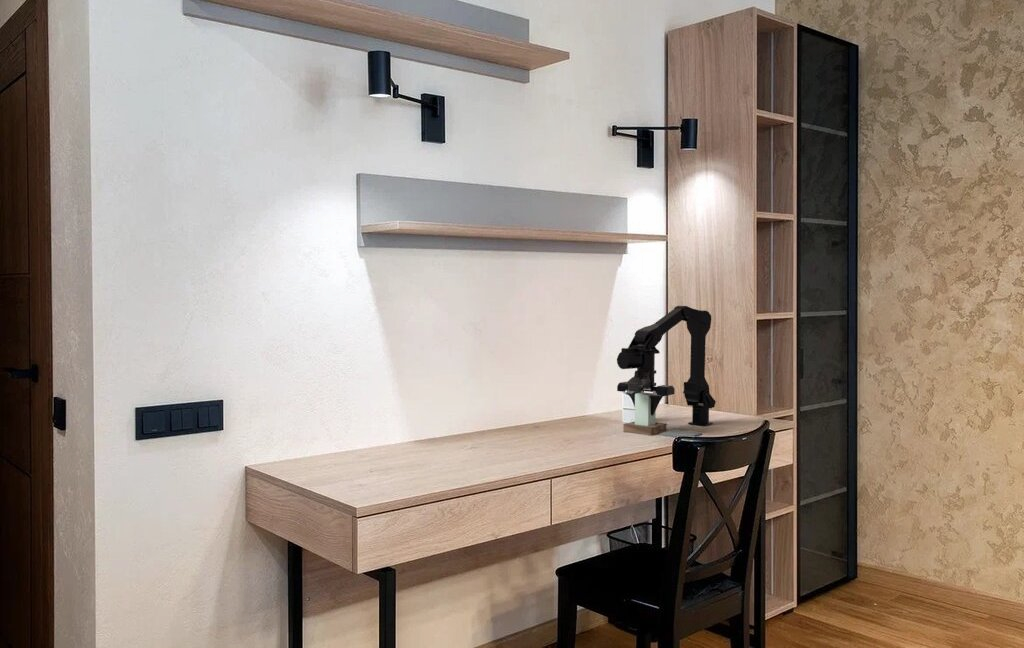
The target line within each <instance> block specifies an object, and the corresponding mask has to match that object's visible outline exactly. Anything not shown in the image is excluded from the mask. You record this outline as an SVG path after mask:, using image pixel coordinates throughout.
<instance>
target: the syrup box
mask: <svg viewBox="0 0 1024 648" xmlns="http://www.w3.org/2000/svg"><path fill="white" fill-rule="evenodd" d="M642 392H645V391H642ZM626 393H627V390H626V391H625V392H622V394H621V395H622V404H621V405H622V417H621V418H622V423H623V424H626V423H630V422H634V421H635V407H634V404H633V401H632V399H631V397H630V396H629V395H627V394H626Z"/></svg>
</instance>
